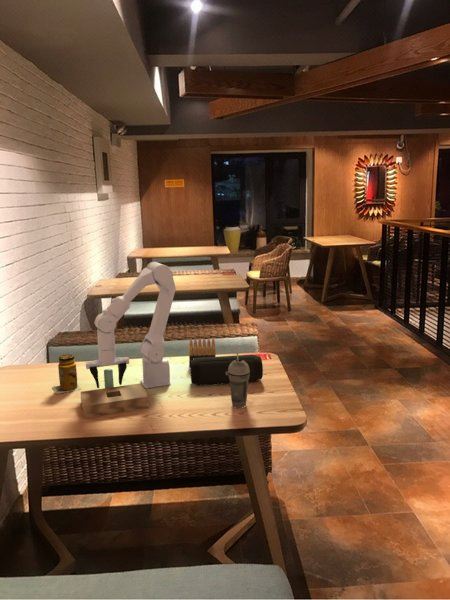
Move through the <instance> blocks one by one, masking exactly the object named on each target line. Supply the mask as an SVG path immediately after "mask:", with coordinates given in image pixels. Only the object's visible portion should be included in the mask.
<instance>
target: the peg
mask: <svg viewBox="0 0 450 600" xmlns="http://www.w3.org/2000/svg"><path fill="white" fill-rule="evenodd" d="M103 379H104V381H103V382H104V388H111V387H115V386H114V370H113V369H112V368H106V369H104V370H103Z"/></svg>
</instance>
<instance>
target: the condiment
mask: <svg viewBox="0 0 450 600" xmlns="http://www.w3.org/2000/svg"><path fill="white" fill-rule="evenodd" d="M57 368H58V369H57V370H58V379H59V385H57V386H56V385H54V386H51V389H52V390H53V391H54V392H55V394H57V395H60V394H63V393H64V394H65V393H68V392H69V393H70V392H73V391H78V390H81V389H82V388H81V387H80V386H79V385H78V384H79V383H78V375H77V374H78V372H77V363H76V359H75V356H74V354H70V353H69V354H67V353H66V354H61V355H60V356H59V357H58V366H57Z"/></svg>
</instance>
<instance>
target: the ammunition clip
mask: <svg viewBox="0 0 450 600" xmlns="http://www.w3.org/2000/svg"><path fill="white" fill-rule="evenodd" d="M206 341H207V342H206ZM216 354H217V352H216V341H215V338H214V337H212V339H210V337H208V338H207V340H206V338H205V337H204V338H203V340H201V337H198V341H197V338H196V337H194V340H193V339H192V338H191V337H190V338H189V347H188V358H189V360H188V362H189V363H188V368H189V369H190V361H191V360H193V359H196V358H202V357H217V356H216Z"/></svg>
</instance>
